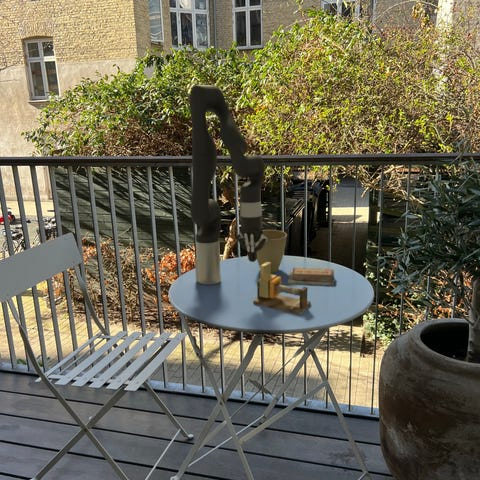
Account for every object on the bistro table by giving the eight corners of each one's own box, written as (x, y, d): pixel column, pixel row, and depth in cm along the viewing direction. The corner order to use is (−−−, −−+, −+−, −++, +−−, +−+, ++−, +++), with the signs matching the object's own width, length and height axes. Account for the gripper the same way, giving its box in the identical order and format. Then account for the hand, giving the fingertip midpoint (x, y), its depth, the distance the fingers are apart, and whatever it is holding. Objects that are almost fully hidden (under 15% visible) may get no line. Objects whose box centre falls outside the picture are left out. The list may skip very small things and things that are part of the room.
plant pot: (245, 268, 198) (245, 232, 194) (275, 262, 204) (275, 228, 200) (262, 278, 185) (262, 241, 181) (293, 272, 192) (293, 235, 187)
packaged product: (334, 266, 184) (334, 275, 175) (334, 277, 186) (333, 286, 176) (290, 264, 188) (287, 272, 179) (290, 275, 189) (287, 284, 180)
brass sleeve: (259, 296, 161) (259, 266, 158) (268, 290, 166) (268, 261, 163) (268, 298, 159) (267, 268, 156) (276, 292, 164) (276, 262, 161)
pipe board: (253, 303, 162) (253, 283, 159) (265, 295, 169) (265, 275, 167) (299, 314, 152) (299, 293, 150) (310, 304, 159) (310, 284, 157)
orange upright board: (269, 297, 159) (269, 281, 157) (278, 291, 164) (277, 276, 162) (273, 298, 158) (272, 282, 157) (280, 292, 163) (280, 276, 161)
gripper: (272, 213, 158) (273, 260, 162) (240, 210, 165) (242, 255, 169) (262, 217, 152) (263, 266, 156) (229, 214, 159) (231, 261, 163)
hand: (252, 261), depth 163 cm, fingers closed
